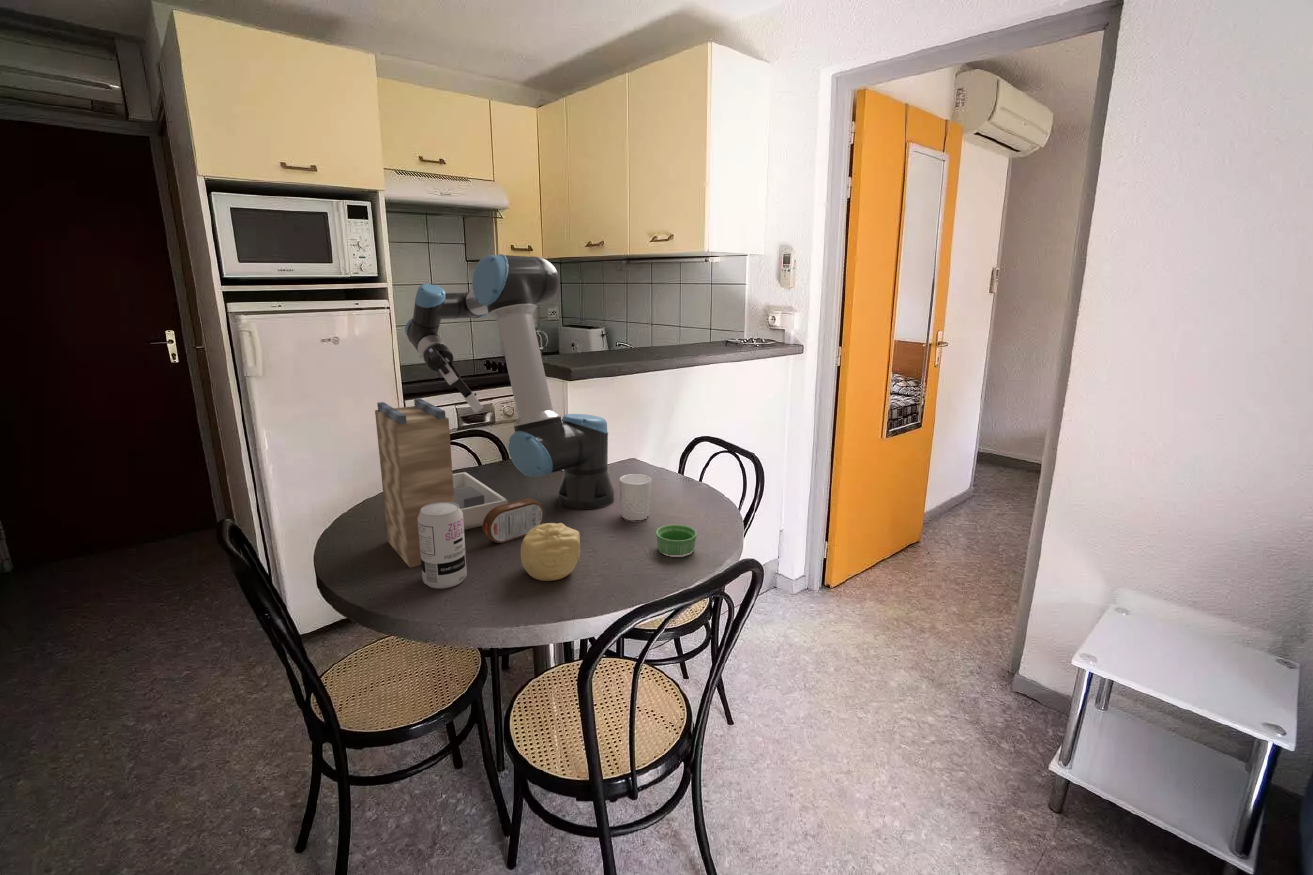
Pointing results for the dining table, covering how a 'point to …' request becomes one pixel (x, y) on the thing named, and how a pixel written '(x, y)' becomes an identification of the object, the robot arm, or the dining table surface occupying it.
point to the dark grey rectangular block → (468, 497)
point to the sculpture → (550, 551)
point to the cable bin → (477, 513)
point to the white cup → (635, 496)
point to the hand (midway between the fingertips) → (466, 396)
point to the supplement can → (442, 545)
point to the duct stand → (412, 469)
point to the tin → (512, 520)
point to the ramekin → (676, 539)
